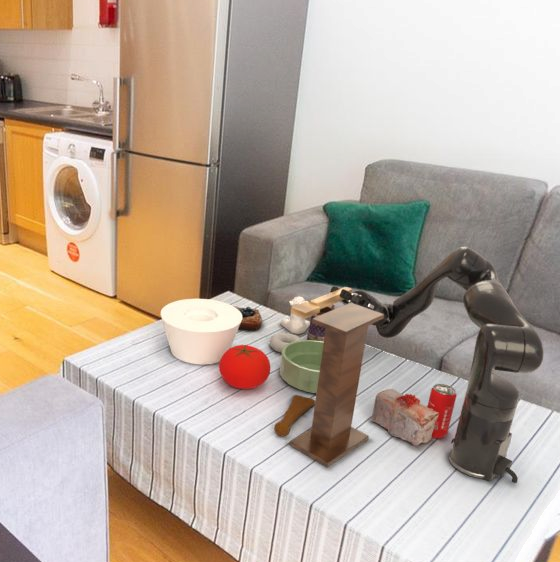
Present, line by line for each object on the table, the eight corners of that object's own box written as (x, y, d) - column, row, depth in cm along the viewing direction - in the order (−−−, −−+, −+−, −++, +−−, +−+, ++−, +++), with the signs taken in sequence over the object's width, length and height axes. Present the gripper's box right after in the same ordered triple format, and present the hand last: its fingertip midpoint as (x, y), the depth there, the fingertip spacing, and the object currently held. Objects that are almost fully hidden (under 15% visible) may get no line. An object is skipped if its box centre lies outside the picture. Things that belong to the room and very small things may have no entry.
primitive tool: (294, 396, 154) (296, 384, 152) (316, 402, 151) (317, 390, 150) (272, 434, 138) (273, 422, 137) (295, 442, 136) (297, 429, 134)
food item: (438, 441, 136) (446, 405, 132) (417, 453, 132) (425, 416, 128) (386, 413, 147) (392, 378, 143) (365, 423, 143) (371, 388, 139)
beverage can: (445, 442, 136) (456, 397, 131) (420, 434, 138) (430, 391, 134) (447, 430, 140) (458, 387, 135) (423, 424, 142) (433, 381, 138)
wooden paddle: (340, 292, 162) (341, 285, 162) (355, 297, 159) (356, 290, 158) (290, 313, 150) (291, 305, 149) (305, 318, 147) (306, 310, 146)
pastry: (226, 315, 202) (227, 299, 200) (262, 318, 199) (263, 302, 197) (223, 328, 192) (224, 312, 190) (260, 332, 189) (262, 316, 187)
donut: (296, 359, 173) (307, 345, 180) (298, 349, 171) (308, 335, 179) (264, 350, 178) (275, 337, 185) (265, 340, 176) (276, 328, 184)
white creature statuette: (309, 325, 194) (314, 291, 190) (313, 336, 186) (317, 302, 182) (280, 323, 195) (284, 290, 191) (282, 334, 187) (286, 300, 183)
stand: (368, 440, 136) (391, 314, 124) (327, 467, 127) (347, 335, 115) (331, 420, 144) (349, 300, 132) (289, 445, 135) (305, 318, 123)
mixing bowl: (363, 380, 161) (367, 358, 158) (322, 403, 151) (326, 379, 148) (306, 355, 175) (309, 334, 172) (265, 374, 164) (268, 352, 162)
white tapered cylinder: (143, 349, 178) (143, 313, 174) (196, 326, 193) (197, 292, 189) (203, 379, 162) (205, 340, 157) (255, 351, 177) (259, 315, 172)
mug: (322, 351, 177) (327, 314, 173) (301, 343, 182) (306, 307, 178) (339, 340, 184) (344, 305, 179) (319, 333, 188) (323, 298, 184)
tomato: (244, 366, 168) (246, 333, 165) (278, 385, 159) (282, 351, 155) (207, 381, 161) (209, 347, 157) (241, 402, 151) (244, 366, 147)
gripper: (348, 287, 173) (320, 271, 162) (392, 302, 163) (366, 285, 151) (337, 311, 174) (309, 296, 162) (381, 327, 163) (354, 312, 152)
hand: (337, 291), depth 157 cm, fingers closed on wooden paddle, 2 cm apart
